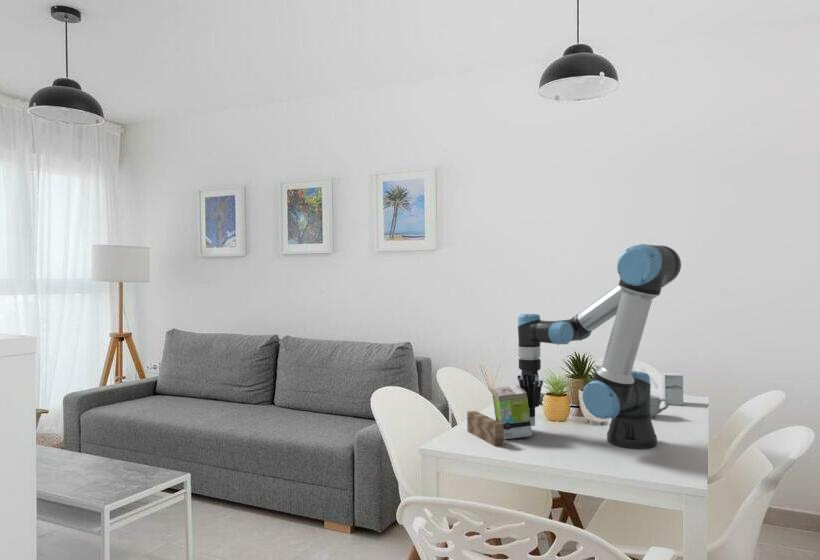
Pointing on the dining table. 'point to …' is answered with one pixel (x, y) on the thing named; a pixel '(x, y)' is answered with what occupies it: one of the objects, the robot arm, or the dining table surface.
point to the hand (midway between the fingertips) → (530, 425)
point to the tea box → (512, 411)
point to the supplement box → (672, 388)
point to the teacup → (657, 405)
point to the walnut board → (485, 428)
